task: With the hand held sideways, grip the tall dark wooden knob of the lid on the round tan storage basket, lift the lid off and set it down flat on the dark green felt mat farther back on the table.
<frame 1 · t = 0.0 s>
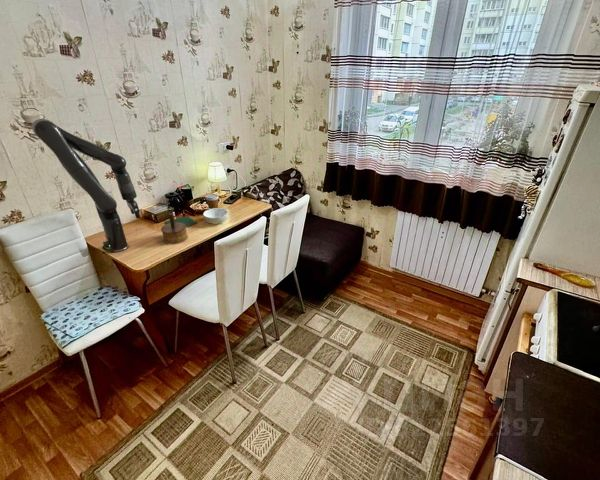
hand: (136, 215, 181), 17 cm above the table, tool pointing down, fingers open, 8 cm apart
basket lid: (173, 228, 189), point 7 cm above the table, touching basket
cereal bowl: (216, 222, 216), on the table
mat: (180, 223, 213), on the table
disposable coffee cup: (213, 211, 233), on the table
basket: (175, 238, 193), on the table
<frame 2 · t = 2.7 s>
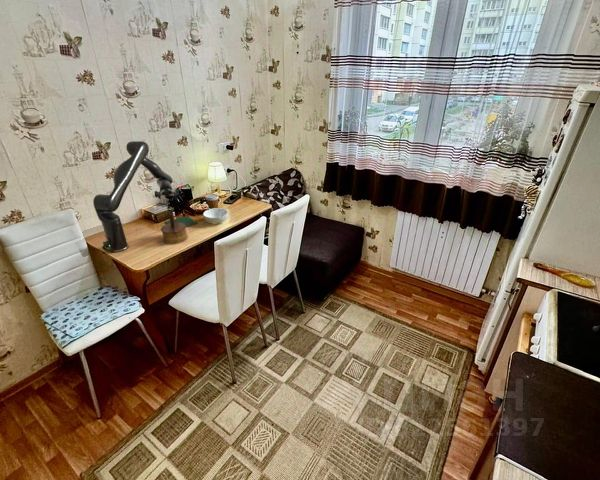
hand: (167, 196, 190), 24 cm above the table, tool horizontal, fingers open, 8 cm apart
nothing on the table moved.
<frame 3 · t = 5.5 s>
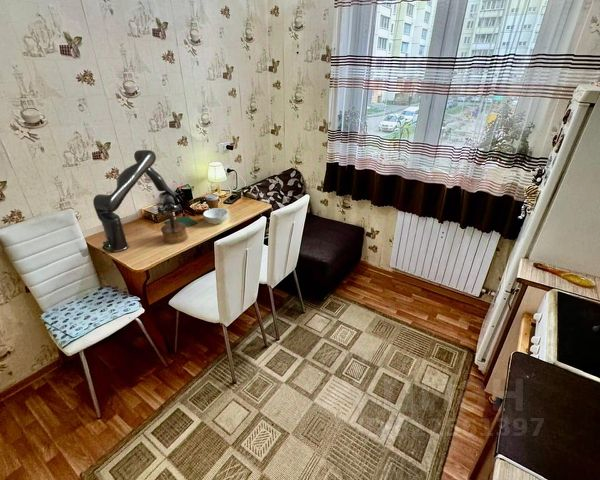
hand: (170, 212, 190), 15 cm above the table, tool horizontal, fingers open, 8 cm apart
nothing on the table moved.
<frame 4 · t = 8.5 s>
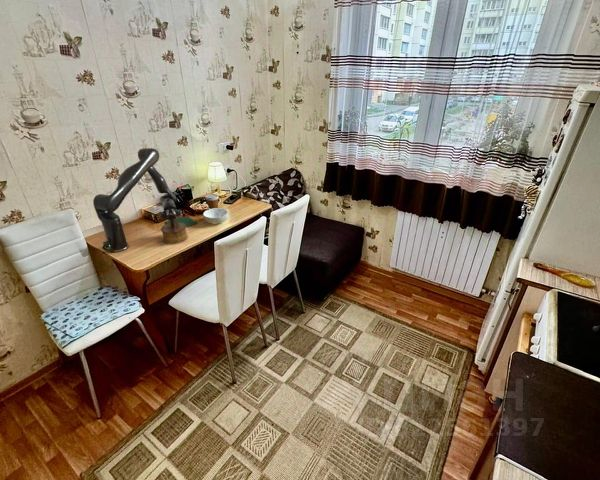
hand: (171, 218, 183), 15 cm above the table, tool horizontal, fingers closed on basket lid, 2 cm apart
basket lid: (173, 228, 189), point 8 cm above the table, touching basket, gripper
everything else where it was.
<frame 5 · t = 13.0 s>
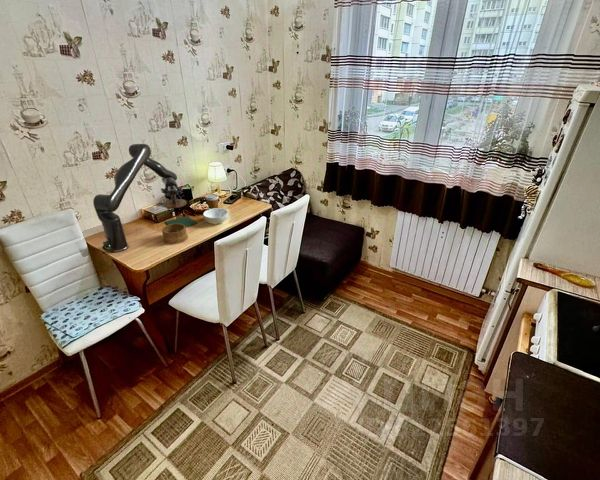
hand: (173, 194, 192), 25 cm above the table, tool horizontal, fingers closed on basket lid, 2 cm apart
basket lid: (175, 203, 198), point 17 cm above the table, touching gripper
everything else where it was.
when the fingers open (9 cm above the table, at t = 17.7 s): basket lid stays where it is, resting on mat.
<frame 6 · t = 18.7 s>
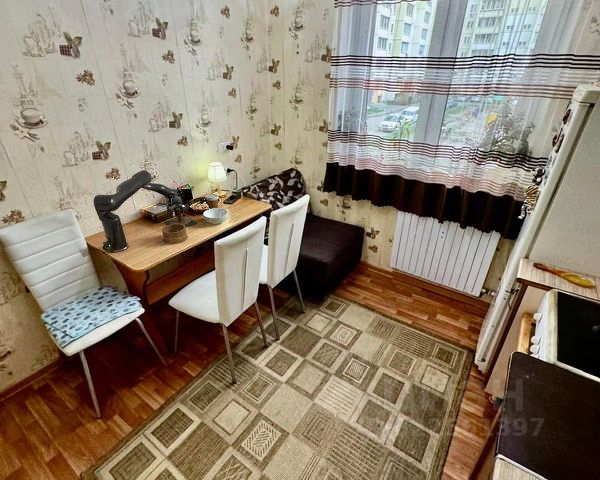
hand: (178, 211, 207), 9 cm above the table, tool horizontal, fingers open, 8 cm apart
basket lid: (180, 221, 212), point 1 cm above the table, touching mat
everything else where it was.
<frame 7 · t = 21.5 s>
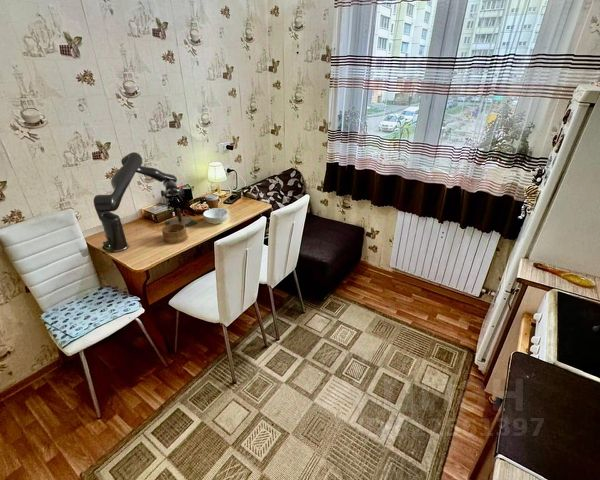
hand: (173, 195, 198), 22 cm above the table, tool horizontal, fingers open, 8 cm apart
nothing on the table moved.
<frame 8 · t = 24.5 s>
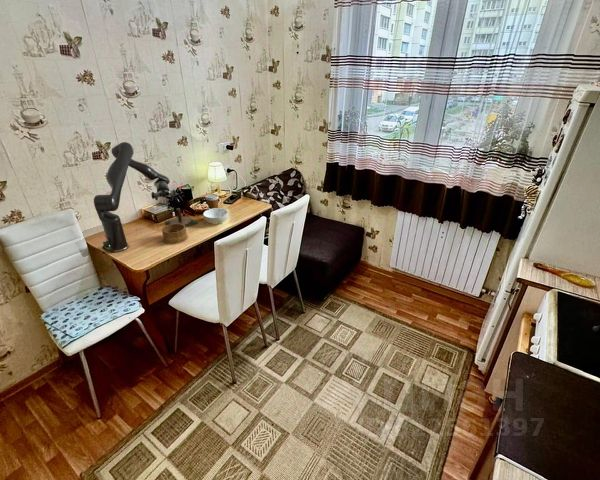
hand: (164, 198, 188), 24 cm above the table, tool horizontal, fingers open, 8 cm apart
nothing on the table moved.
at the end: basket lid inside the target area on the mat (0.1 cm from its centre), point 1.1 cm above the mat's base; basket lid tilted 0°; basket lid touching mat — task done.
